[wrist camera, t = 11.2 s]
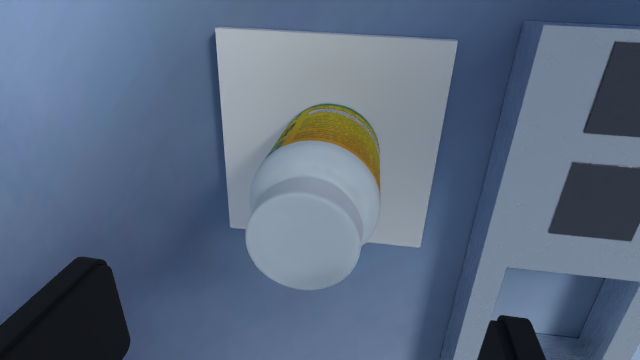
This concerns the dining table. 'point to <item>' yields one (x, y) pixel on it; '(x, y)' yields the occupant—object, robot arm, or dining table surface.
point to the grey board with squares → (562, 188)
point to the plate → (341, 87)
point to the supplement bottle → (315, 198)
